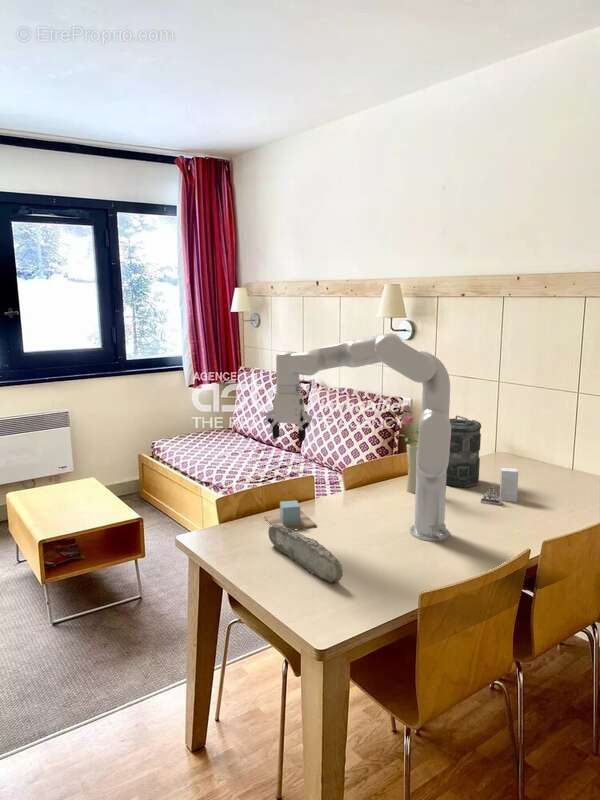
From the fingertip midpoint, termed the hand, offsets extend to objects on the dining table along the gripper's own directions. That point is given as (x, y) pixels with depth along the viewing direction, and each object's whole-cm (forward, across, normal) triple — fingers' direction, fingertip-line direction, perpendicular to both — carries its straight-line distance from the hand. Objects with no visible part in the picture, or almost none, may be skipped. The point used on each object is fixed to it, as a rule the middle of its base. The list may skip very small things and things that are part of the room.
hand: (288, 439), depth 195 cm
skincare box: (+31, -63, -59) cm, 91 cm away
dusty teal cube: (+29, 0, 0) cm, 29 cm away
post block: (+30, 0, 0) cm, 30 cm away
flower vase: (+31, -26, -49) cm, 63 cm away
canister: (+31, -41, -71) cm, 88 cm away
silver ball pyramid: (+31, -58, -54) cm, 86 cm away
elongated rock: (+31, -19, +25) cm, 44 cm away
